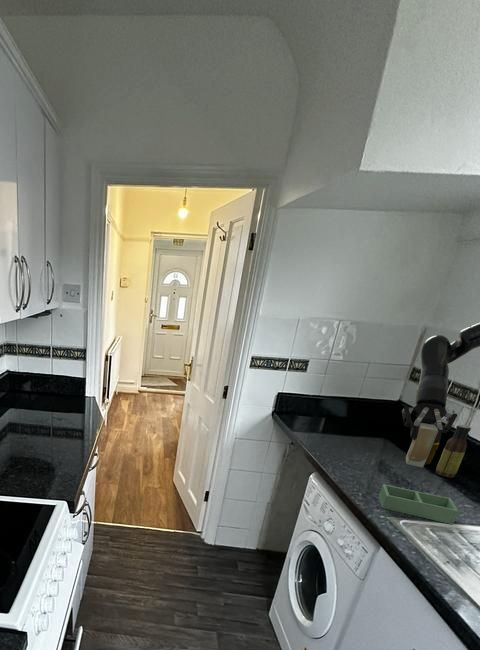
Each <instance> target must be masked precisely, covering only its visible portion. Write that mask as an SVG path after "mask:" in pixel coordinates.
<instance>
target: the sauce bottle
mask: <svg viewBox="0 0 480 650" xmlns="http://www.w3.org/2000/svg"><path fill="white" fill-rule="evenodd" d="M455 428H456V429H455V432H454V434H453V436H452V437H451V438H448V440H446V441H447V442H446V444H445V446H444V448H443V451H442V453H441V455H440V458H439V461H438V463H437V465H436V468H435V474H437V475H439V476H441V477H444V478H449V479H452V478H454V477H455V476H456V474H457V473H458V470H459V468H460V466H461V464H462V461H463V458H464V457H465V453H466V450H467V448H468V443H467V438H468V435H469V433H470V431H471V430H472V427H471V426H469V425H465V424H457V425H456V426H455Z"/></svg>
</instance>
